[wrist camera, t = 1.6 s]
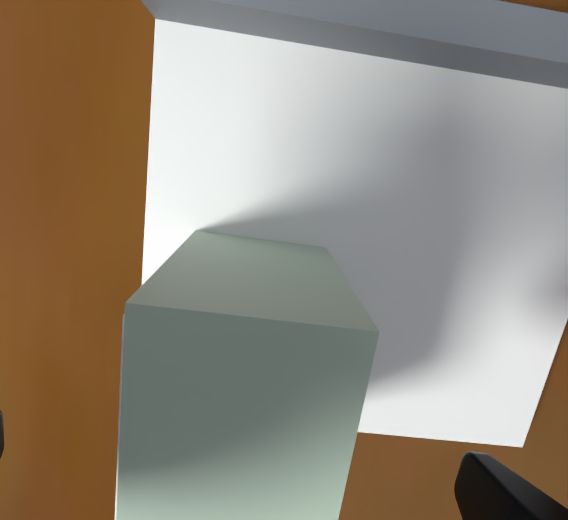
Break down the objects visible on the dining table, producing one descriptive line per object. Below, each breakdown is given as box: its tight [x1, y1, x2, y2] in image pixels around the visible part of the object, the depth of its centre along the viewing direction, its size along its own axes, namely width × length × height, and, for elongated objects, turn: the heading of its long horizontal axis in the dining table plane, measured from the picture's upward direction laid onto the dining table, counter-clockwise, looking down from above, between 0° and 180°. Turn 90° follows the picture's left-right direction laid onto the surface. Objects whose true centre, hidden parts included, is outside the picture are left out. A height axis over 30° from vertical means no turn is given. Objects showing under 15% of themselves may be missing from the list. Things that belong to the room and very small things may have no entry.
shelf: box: [140, 0, 568, 447], centre depth 12 cm, size 13×14×3 cm
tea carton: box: [115, 230, 379, 520], centre depth 10 cm, size 4×6×6 cm
